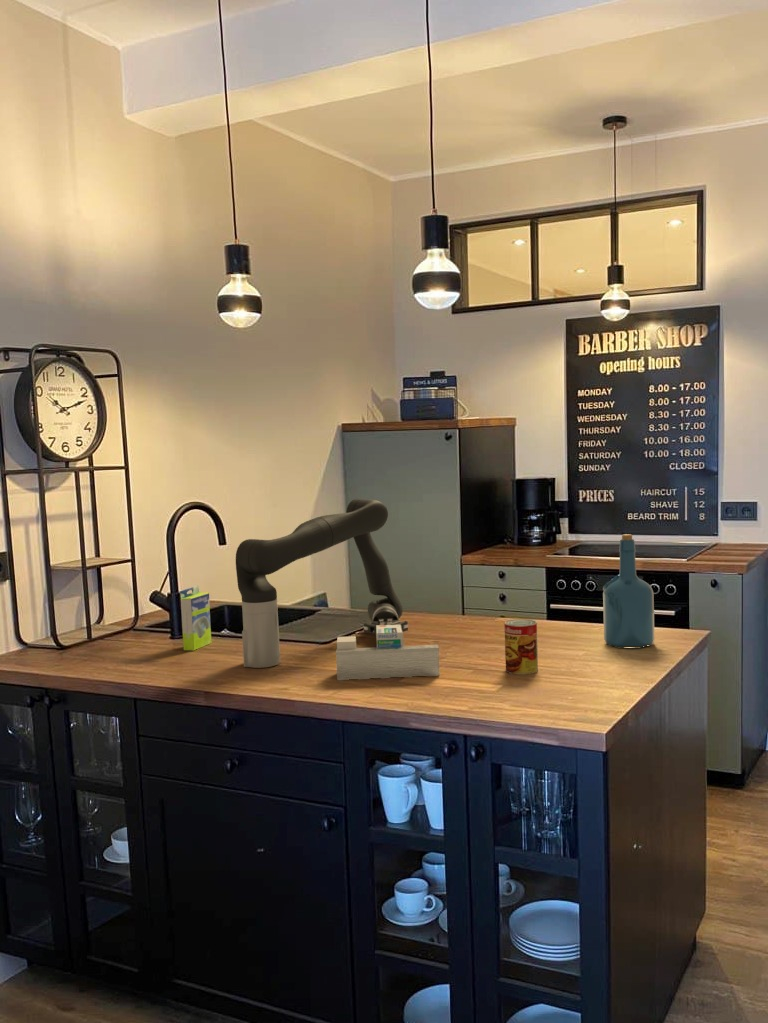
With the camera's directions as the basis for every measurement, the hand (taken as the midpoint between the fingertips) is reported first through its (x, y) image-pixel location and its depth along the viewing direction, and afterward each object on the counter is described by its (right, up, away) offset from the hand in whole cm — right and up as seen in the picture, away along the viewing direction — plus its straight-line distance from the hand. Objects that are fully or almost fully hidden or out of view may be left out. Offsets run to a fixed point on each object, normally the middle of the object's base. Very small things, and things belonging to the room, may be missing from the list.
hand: (386, 633), depth 244 cm
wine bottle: (+66, -3, +3) cm, 66 cm away
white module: (-10, -8, -18) cm, 22 cm away
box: (-55, -7, +21) cm, 59 cm away
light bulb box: (+1, -7, -16) cm, 17 cm away
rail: (0, -8, -20) cm, 21 cm away
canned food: (+33, -7, -21) cm, 40 cm away
